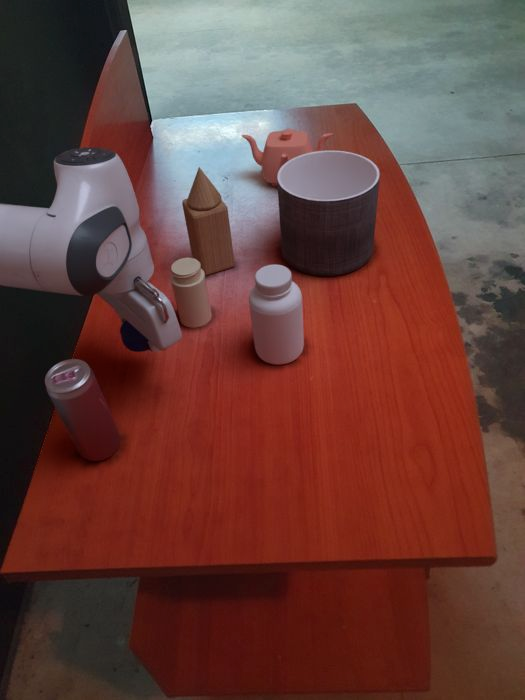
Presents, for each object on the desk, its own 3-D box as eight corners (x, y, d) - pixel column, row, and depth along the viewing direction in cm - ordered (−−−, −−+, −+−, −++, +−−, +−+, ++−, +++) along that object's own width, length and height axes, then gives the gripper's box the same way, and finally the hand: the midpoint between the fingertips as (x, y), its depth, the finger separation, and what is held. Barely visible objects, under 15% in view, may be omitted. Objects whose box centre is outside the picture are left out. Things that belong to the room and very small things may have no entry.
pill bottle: (248, 338, 94) (239, 265, 84) (294, 326, 96) (291, 253, 85) (263, 371, 89) (255, 298, 78) (311, 358, 90) (310, 284, 80)
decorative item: (236, 267, 108) (223, 169, 94) (203, 277, 107) (186, 180, 93) (223, 249, 113) (209, 153, 99) (192, 259, 111) (173, 163, 97)
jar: (184, 331, 97) (172, 280, 89) (176, 311, 101) (164, 260, 93) (215, 322, 98) (206, 271, 90) (207, 303, 102) (197, 252, 94)
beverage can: (76, 436, 83) (40, 366, 72) (117, 423, 84) (87, 352, 73) (82, 469, 79) (45, 399, 68) (125, 454, 80) (95, 384, 69)
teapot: (333, 177, 130) (334, 130, 122) (285, 201, 124) (283, 153, 116) (291, 156, 138) (289, 111, 130) (244, 178, 132) (240, 132, 125)
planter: (287, 222, 118) (283, 150, 107) (374, 224, 115) (380, 150, 104) (275, 275, 106) (270, 200, 95) (372, 279, 103) (379, 202, 92)
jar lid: (160, 321, 89) (157, 310, 88) (163, 347, 85) (160, 336, 84) (123, 329, 89) (119, 318, 87) (124, 355, 85) (120, 344, 83)
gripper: (182, 286, 73) (199, 361, 82) (102, 226, 84) (125, 298, 94) (141, 310, 70) (163, 384, 80) (64, 244, 82) (92, 316, 91)
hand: (142, 337), depth 87 cm, fingers closed on jar lid, 6 cm apart
